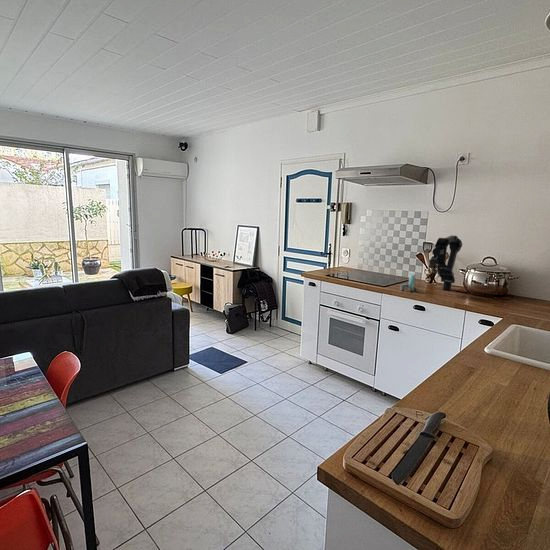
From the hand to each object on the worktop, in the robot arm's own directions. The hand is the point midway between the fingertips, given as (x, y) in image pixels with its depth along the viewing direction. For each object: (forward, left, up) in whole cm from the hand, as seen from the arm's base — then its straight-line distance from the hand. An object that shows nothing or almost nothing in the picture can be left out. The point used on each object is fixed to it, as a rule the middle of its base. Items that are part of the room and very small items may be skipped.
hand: (439, 275), depth 262 cm
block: (+2, -19, -13) cm, 23 cm away
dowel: (+2, -19, -13) cm, 23 cm away
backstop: (-1, -23, -13) cm, 27 cm away
